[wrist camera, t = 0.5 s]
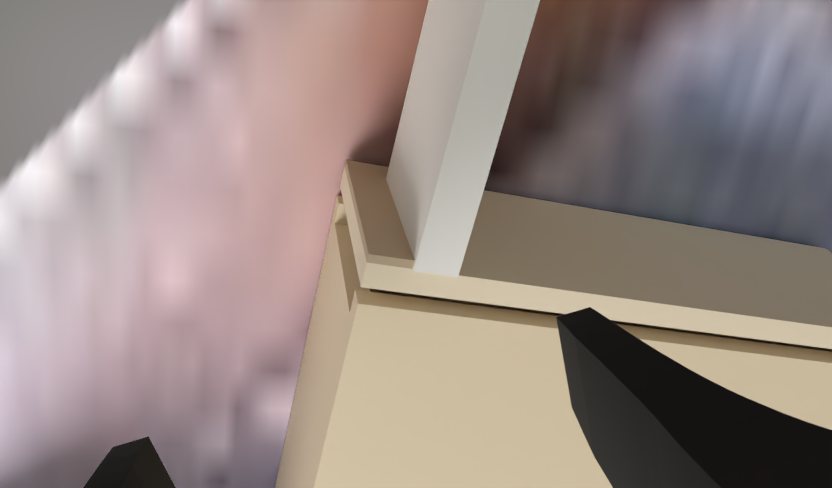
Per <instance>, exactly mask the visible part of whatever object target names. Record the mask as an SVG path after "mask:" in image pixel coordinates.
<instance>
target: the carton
mask: <svg viewBox="0 0 832 488" xmlns="http://www.w3.org/2000/svg"><path fill="white" fill-rule="evenodd" d="M561 315H565V314H561V313H553V312H546V311H538V310H530V309H523V308H515V307H508V306H500V305H492V304H485V303H477V302H469V301H462V300H454V299H447V298H439V297H431V296H424V295H416V294H408V293H401V292H393V291H386V290H378V289H370V288H363V287H361V286H360V281H359V276H358V271H357V266H356V261H355V256H354V252H353V247H352V242H351V237H350V232H349V227H348V222H347V217H346V212H345V208H344V203H343V198H342V196H340V195H337V198H336V203H335V208H334V212H333V217H332V222H331V226H330V231H329V236H328V240H327V245H326V250H325V255H324V259H323V264H322V269H321V273H320V278H319V283H318V287H317V292H316V297H315V301H314V306H313V311H312V315H311V320H310V325H309V330H308V334H307V339H306V344H305V348H304V353H303V358H302V362H301V367H300V372H299V376H298V381H297V386H296V390H295V395H294V400H293V405H292V409H291V414H290V419H289V423H288V428H287V433H286V437H285V442H284V447H283V451H282V456H281V461H280V465H279V470H278V475H277V480H276V484H275V488H613V487H612V485H611V484H610V482H609V480H608V479H607V477H606V475H605V474H604V472H603V471H602V469H601V467H600V466H599V464H598V462H597V460H596V459H595V457H594V455H593V453H592V451H591V449H590V447H589V444H588V442H587V440H586V438H585V436H584V434H583V431H582V429H581V427H580V425H579V422H578V420H577V418H576V416H575V413H574V411H573V409H572V406H571V400H570V394H569V389H568V383H567V377H566V371H565V365H564V360H563V354H562V348H561V342H560V336H559V331H558V325H557V319H556V317H558V316H561ZM611 321H612V322H614V323H615V324H617V325H618V326H620V327H621V328H623V329H624V330H626V331H627V332H629V333H631V334H632V335H634V336H635V337H637V338H638V339H640V340H641V341H643V342H645V343H646V344H648V345H649V346H651V347H653V348H654V349H656V350H657V351H659V352H661V353H662V354H664V355H666V356H668V357H669V358H671V359H673V360H674V361H676V362H678V363H679V364H681V365H683V366H685V367H686V368H688V369H690V370H692V371H694V372H695V373H697V374H699V375H701V376H703V377H705V378H707V379H709V380H710V381H712V382H714V383H716V384H718V385H720V386H722V387H724V388H726V389H728V390H730V391H733V392H735V393H737V394H739V395H741V396H743V397H746V398H748V399H750V400H753V401H755V402H758V403H760V404H762V405H765V406H767V407H770V408H772V409H774V410H777V411H779V412H782V413H784V414H787V415H789V416H792V417H795V418H798V419H800V420H803V421H806V422H809V423H812V424H815V425H818V426H821V427H824V428H827V429H830V430H832V349H828V348H820V347H812V346H805V345H797V344H790V343H782V342H774V341H767V340H759V339H751V338H744V337H736V336H729V335H721V334H713V333H706V332H698V331H690V330H683V329H675V328H668V327H660V326H652V325H645V324H637V323H630V322H622V321H614V320H611Z"/></svg>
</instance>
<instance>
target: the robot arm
mask: <svg viewBox="0 0 832 488" xmlns="http://www.w3.org/2000/svg"><path fill="white" fill-rule="evenodd" d="M556 319H557V325H558V331H559V336H560V342H561V348H562V354H563V360H564V365H565V371H566V377H567V383H568V389H569V394H570V400H571V406H572V409H573V411H574V413H575V416H576V418H577V420H578V422H579V425H580V427H581V429H582V431H583V434H584V436H585V438H586V440H587V442H588V444H589V447H590V449H591V451H592V453H593V455H594V457H595V459H596V460H597V462H598V464H599V466H600V467H601V469H602V471H603V472H604V474H605V475H606V477H607V479H608V480H609V482H610V484H611V485H612V487H613V488H832V430H830V429H827V428H824V427H821V426H818V425H815V424H812V423H809V422H806V421H803V420H800V419H798V418H795V417H792V416H789V415H787V414H784V413H782V412H779V411H777V410H774V409H772V408H770V407H767V406H765V405H762V404H760V403H758V402H755V401H753V400H750V399H748V398H746V397H743V396H741V395H739V394H737V393H735V392H733V391H730V390H728V389H726V388H724V387H722V386H720V385H718V384H716V383H714V382H712V381H710V380H709V379H707V378H705V377H703V376H701V375H699V374H697V373H695V372H694V371H692V370H690V369H688V368H686V367H685V366H683V365H681V364H679V363H678V362H676V361H674V360H673V359H671V358H669V357H668V356H666V355H664V354H662V353H661V352H659V351H657V350H656V349H654V348H653V347H651V346H649V345H648V344H646V343H645V342H643V341H641V340H640V339H638V338H637V337H635V336H634V335H632V334H631V333H629V332H627V331H626V330H624V329H623V328H621V327H620V326H618V325H617V324H615V323H614V322H612V321H611V320H609V319H608V318H606V317H605V316H603V315H602V314H600V313H599V312H597V311H596V310H594V309H592V308H591V307H589V308H585V309H582V310H578V311H575V312H572V313H568V314H565V315H561V316H558V317H556ZM84 488H175V486H174V484H173V482H172V481H171V479H170V477H169V475H168V473H167V471H166V469H165V467H164V465H163V463H162V462H161V460H160V458H159V456H158V454H157V452H156V450H155V448H154V446H153V445H152V443H151V441H150V439H149V437H146V438H142V439H139V440H136V441H132V442H129V443H125V444H122V445H119V446H115V447H113V448H112V449H111V451H110V452H109V453H108V454H107V456H106V457H105V458H104V460H103V461H102V462H101V464H100V465H99V467H98V468H97V469H96V471H95V472H94V474H93V475H92V477H91V478H90V479H89V481H88V482H87V484H86V485H85V486H84Z"/></svg>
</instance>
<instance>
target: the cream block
mask: <svg viewBox="0 0 832 488" xmlns="http://www.w3.org/2000/svg"><path fill="white" fill-rule="evenodd" d="M539 2H540V0H429V1H428V5H427V10H426V14H425V18H424V22H423V26H422V30H421V35H420V39H419V43H418V47H417V51H416V56H415V60H414V64H413V68H412V72H411V76H410V81H409V85H408V89H407V93H406V97H405V102H404V106H403V110H402V114H401V118H400V123H399V127H398V131H397V135H396V139H395V143H394V148H393V152H392V156H391V160H390V164H389V167H386V166H380V165H374V164H368V163H363V162H357V161H351V160H346V161H345V166H344V171H343V175H342V180H341V185H340V188H341V193H342V198H343V203H344V208H345V212H346V217H347V222H348V227H349V232H350V237H351V242H352V247H353V252H354V256H355V261H356V266H357V271H358V276H359V281H360V286H361V287H363V288H370V289H378V290H386V291H393V292H401V293H408V294H416V295H424V296H431V297H439V298H447V299H454V300H462V301H469V302H477V303H485V304H492V305H500V306H508V307H515V308H523V309H530V310H538V311H546V312H553V313H561V314H568V313H572V312H575V311H578V310H582V309H585V308H589V307H591V308H592V309H594V310H596V311H597V312H599V313H600V314H602V315H603V316H605V317H606V318H608V319H609V320H614V321H622V322H630V323H637V324H645V325H652V326H660V327H668V328H675V329H683V330H690V331H698V332H706V333H713V334H721V335H729V336H736V337H744V338H751V339H759V340H767V341H774V342H782V343H790V344H797V345H805V346H812V347H820V348H828V349H832V253H831V252H830V251H829V250H827V249H826V248H821V247H815V246H809V245H803V244H797V243H791V242H785V241H779V240H774V239H768V238H762V237H756V236H750V235H744V234H738V233H733V232H727V231H721V230H715V229H709V228H703V227H697V226H691V225H686V224H680V223H674V222H668V221H662V220H656V219H650V218H644V217H639V216H633V215H627V214H621V213H615V212H609V211H603V210H597V209H592V208H586V207H580V206H574V205H568V204H562V203H556V202H551V201H545V200H539V199H533V198H527V197H521V196H515V195H509V194H504V193H498V192H492V191H486V190H484V188H485V184H486V181H487V178H488V174H489V171H490V168H491V164H492V161H493V157H494V154H495V151H496V147H497V144H498V141H499V137H500V134H501V130H502V127H503V124H504V120H505V117H506V113H507V110H508V107H509V103H510V100H511V97H512V93H513V90H514V86H515V83H516V80H517V76H518V73H519V70H520V66H521V63H522V59H523V56H524V53H525V49H526V46H527V43H528V39H529V36H530V32H531V29H532V26H533V22H534V19H535V16H536V12H537V9H538V5H539Z"/></svg>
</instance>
